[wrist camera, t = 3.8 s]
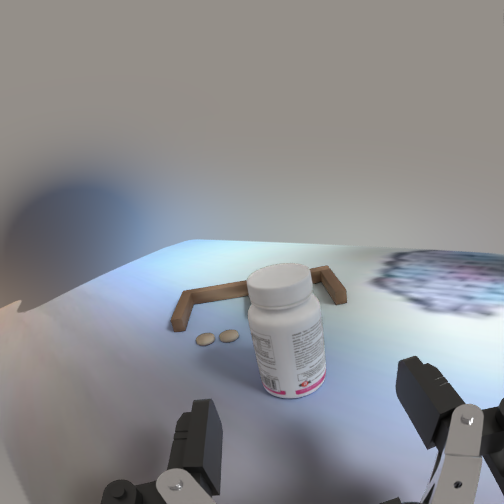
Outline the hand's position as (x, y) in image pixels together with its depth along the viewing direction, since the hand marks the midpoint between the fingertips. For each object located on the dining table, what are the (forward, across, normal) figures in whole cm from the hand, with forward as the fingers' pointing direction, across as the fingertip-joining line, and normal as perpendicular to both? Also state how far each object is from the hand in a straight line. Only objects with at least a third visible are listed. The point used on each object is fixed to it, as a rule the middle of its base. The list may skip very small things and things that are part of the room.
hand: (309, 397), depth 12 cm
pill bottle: (+8, 0, +6) cm, 10 cm away
